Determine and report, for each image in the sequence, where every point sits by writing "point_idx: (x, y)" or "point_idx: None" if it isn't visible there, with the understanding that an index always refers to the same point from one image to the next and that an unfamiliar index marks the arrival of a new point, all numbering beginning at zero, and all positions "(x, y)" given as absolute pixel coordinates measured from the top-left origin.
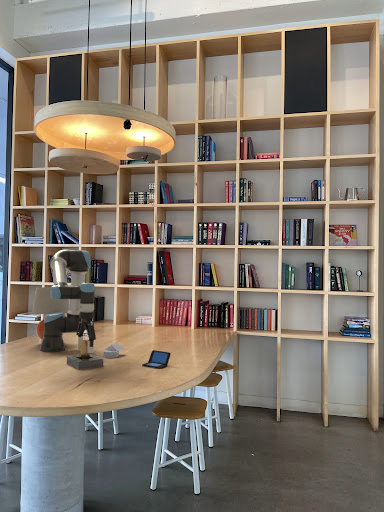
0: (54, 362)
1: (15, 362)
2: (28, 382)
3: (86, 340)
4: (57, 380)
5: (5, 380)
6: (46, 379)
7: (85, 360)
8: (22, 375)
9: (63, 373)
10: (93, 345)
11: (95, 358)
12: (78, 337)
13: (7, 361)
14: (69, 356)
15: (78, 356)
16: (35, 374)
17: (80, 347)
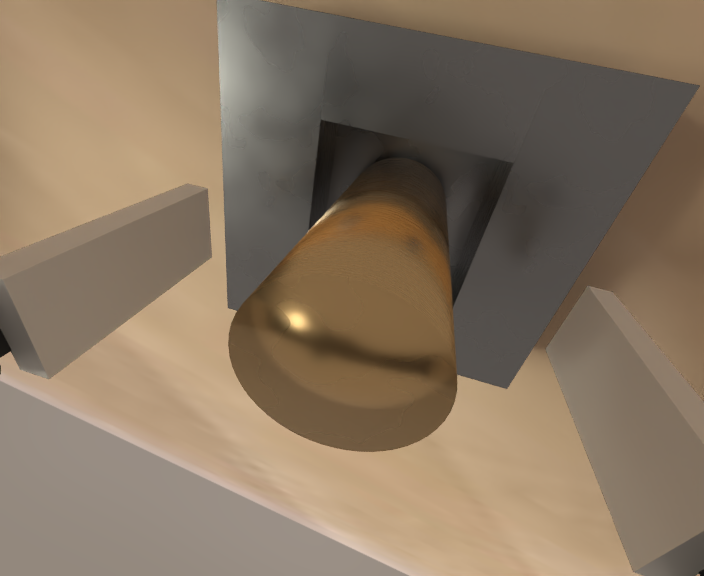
0: (176, 298)
1: (104, 404)
2: (500, 572)
3: (300, 335)
4: (598, 534)
5: (400, 569)
6: (527, 535)
7: (524, 324)
8: (372, 521)
9: (499, 445)
10: (687, 382)
11: (549, 170)
12: (51, 374)
13: (72, 408)
14: (243, 296)
15: (291, 241)
16: (397, 499)
17: (197, 233)
